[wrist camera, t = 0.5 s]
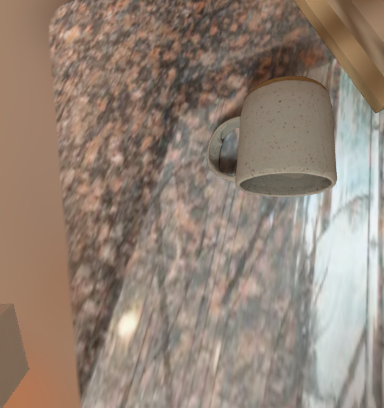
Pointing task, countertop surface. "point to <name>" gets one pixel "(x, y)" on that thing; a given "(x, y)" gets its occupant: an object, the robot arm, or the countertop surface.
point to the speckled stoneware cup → (281, 140)
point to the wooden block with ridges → (353, 40)
